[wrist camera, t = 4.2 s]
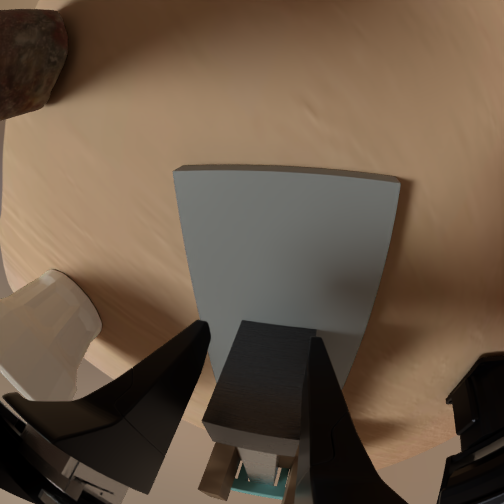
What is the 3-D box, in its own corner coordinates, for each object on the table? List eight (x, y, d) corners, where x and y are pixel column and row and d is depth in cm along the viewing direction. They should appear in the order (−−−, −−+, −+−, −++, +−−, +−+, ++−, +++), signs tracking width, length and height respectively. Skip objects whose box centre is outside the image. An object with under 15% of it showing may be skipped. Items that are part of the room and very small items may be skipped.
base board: (395, 176, 11) (400, 183, 10) (311, 446, 28) (310, 452, 27) (182, 165, 13) (172, 171, 12) (236, 434, 30) (233, 440, 29)
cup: (105, 358, 28) (60, 427, 19) (33, 291, 26) (-20, 348, 17) (133, 319, 21) (62, 423, 12) (36, 226, 19) (-49, 299, 10)
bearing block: (322, 413, 22) (304, 510, 14) (313, 433, 25) (297, 513, 17) (231, 399, 24) (197, 489, 16) (236, 421, 28) (209, 496, 19)
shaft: (316, 329, 15) (300, 440, 9) (291, 448, 27) (280, 495, 22) (241, 319, 16) (201, 421, 10) (256, 442, 28) (242, 488, 23)
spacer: (307, 461, 23) (298, 499, 19) (303, 466, 24) (295, 501, 20) (231, 448, 24) (218, 484, 21) (233, 454, 26) (222, 487, 22)
